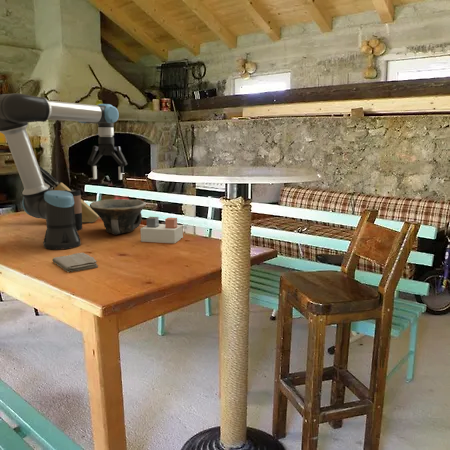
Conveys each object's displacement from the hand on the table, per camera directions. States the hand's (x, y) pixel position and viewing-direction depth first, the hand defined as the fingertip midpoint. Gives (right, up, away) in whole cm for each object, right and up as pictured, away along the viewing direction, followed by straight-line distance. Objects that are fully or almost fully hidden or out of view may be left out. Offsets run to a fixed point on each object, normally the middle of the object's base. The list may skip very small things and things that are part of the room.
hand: (107, 179), depth 226 cm
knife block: (-28, -22, +20) cm, 41 cm away
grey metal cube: (+26, -24, -20) cm, 41 cm away
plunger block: (+30, -30, -20) cm, 47 cm away
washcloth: (+4, -38, -60) cm, 71 cm away
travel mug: (-17, -26, +2) cm, 31 cm away
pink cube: (+35, -25, -22) cm, 48 cm away
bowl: (+7, -27, -5) cm, 28 cm away
